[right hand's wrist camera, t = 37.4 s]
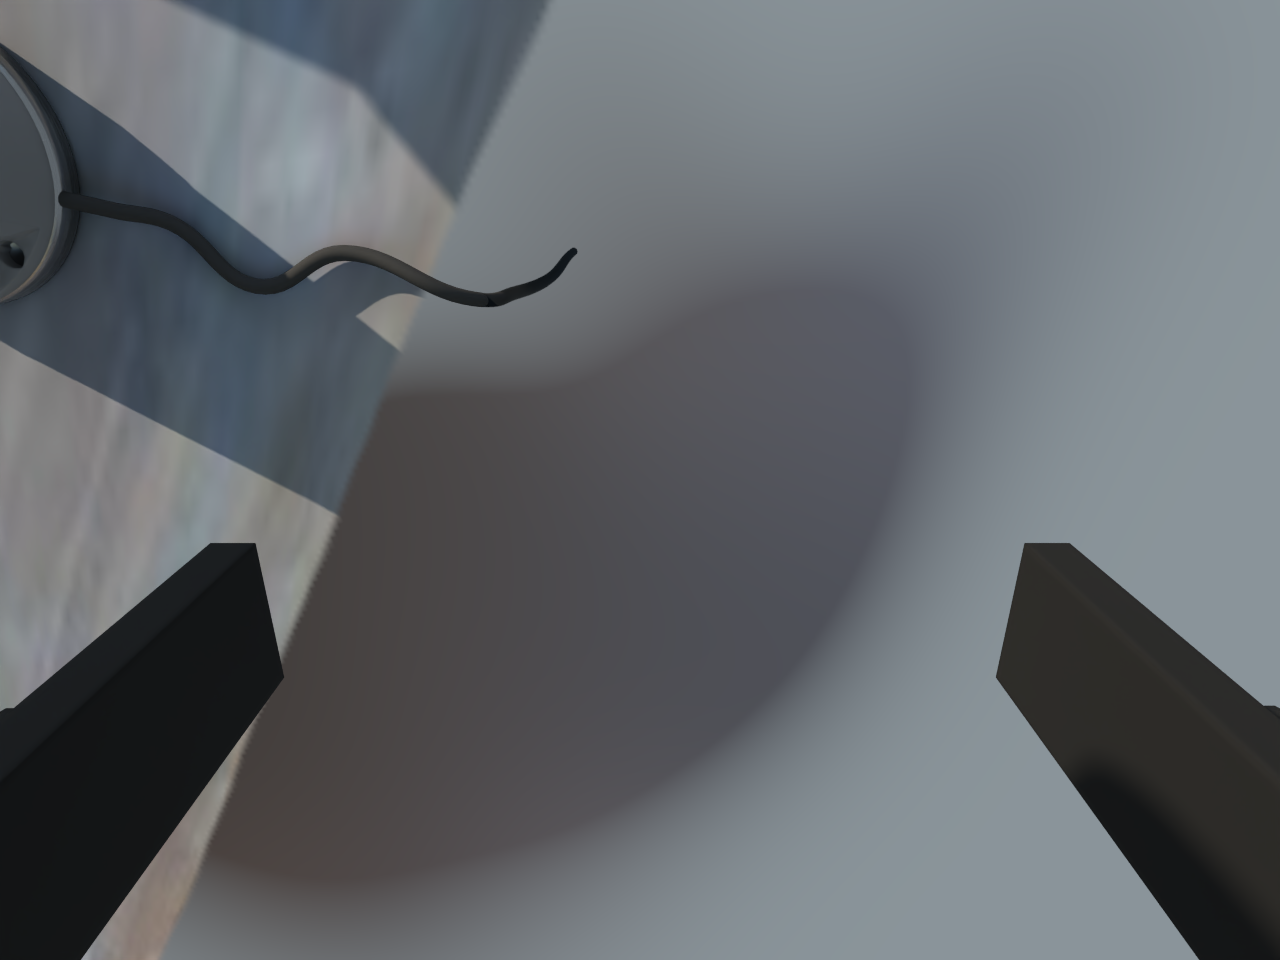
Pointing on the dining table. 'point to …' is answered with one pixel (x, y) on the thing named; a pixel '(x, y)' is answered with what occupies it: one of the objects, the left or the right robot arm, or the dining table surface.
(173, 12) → the dining table surface
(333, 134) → the dining table surface
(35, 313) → the dining table surface
